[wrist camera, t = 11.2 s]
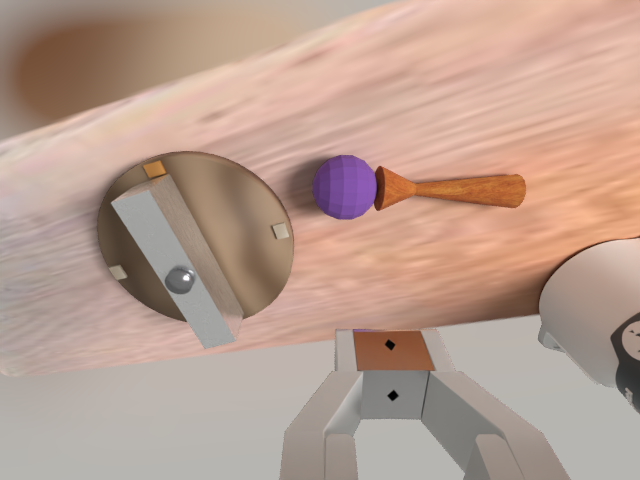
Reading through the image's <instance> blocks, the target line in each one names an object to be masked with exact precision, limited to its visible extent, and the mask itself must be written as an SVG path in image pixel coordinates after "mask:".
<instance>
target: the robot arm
mask: <svg viewBox="0 0 640 480" xmlns="http://www.w3.org/2000/svg"><path fill="white" fill-rule="evenodd" d="M539 313H540V316H541V321H542V325H541V328H540V332H539V335H538V340H539V342H540V343H541V344H542V345H543V346H544V347H547V348H550V349H553V350H557V351H561V352H565V353H566V354H567V355H568V356H569V357H570V358H571V360H572V361H573V362H574V363H575V364H576V365H577V366H578V367H579V368H580V369H581V370H582V371H583V372H584V373H585V374H586V375H587V376H588V377H589V378H590V379H591V380H592V381H593V382H594V383H596V384H602V385H604V386H607V387H612V388H618V390H619V391H620V392H621V393H622V394H623V395H624V397H625V398H626V399H627V400H628V402H629V403H630V405H631V406H632V407H633V408H634V409H635V410H636V411H637V412H638V413H639V414H640V238H636V239H624V240H615V241H609V242H605V243H602V244H599V245H596V246H593V247H591V248H588V249H586V250H584V251H582V252H581V253H579V254H577V255H575V256H574V257H572V258H571V259H570V260H568V261H567V262H566V263H564V264H563V265H562V266H561V267H560V268H559V269H558V270H557V271H556V272H555V273H554V274H553V275H552V276H551V278H550V279H549V280H548V282H547V283H546V285H545V287H544V289H543V291H542V294H541V297H540V301H539ZM360 419H419V420H421V421H422V423H423V424H424V425H425V426H426V427H427V429H428V430H429V431H430V432H431V433H432V435H433V436H434V437H435V438H436V439H437V440H438V442H439V443H440V444H441V445H442V446H443V447H444V449H445V450H446V451H447V452H448V453H449V455H450V456H451V457H452V458H453V459H454V461H455V462H456V463H457V464H458V465H459V466H460V467H461V469H462V470H463V471H464V472H465V476H464V479H463V480H571V479H570V478H569V476H568V474H567V473H566V471H565V469H564V468H563V466H562V464H561V463H560V461H559V459H558V458H557V456H556V454H555V453H554V451H553V449H552V448H551V446H550V444H549V443H548V441H547V439H546V438H545V436H544V434H543V433H542V432H540V431H539V430H538V429H537V428H535V427H534V426H532V425H531V424H530V423H529V422H527V421H526V420H525V419H523V418H522V417H521V416H519V415H518V414H517V413H515V412H514V411H513V410H511V409H510V408H509V407H507V406H506V405H505V404H503V403H502V402H501V401H499V400H498V399H497V398H496V397H494V396H493V395H492V394H490V393H489V392H488V391H486V390H485V389H484V388H483V387H481V386H480V385H479V384H477V383H476V382H475V381H473V380H472V379H471V378H469V377H468V376H467V375H465V374H464V373H463V372H460V371H456V370H455V368H454V366H453V363H452V361H451V359H450V357H449V354H448V352H447V350H446V348H445V345H444V343H443V341H442V339H441V336H440V334H439V332H438V331H437V330H436V329H419V330H366V329H353V330H352V329H336V330H335V371H332V372H331V373H330V374H329V376H328V377H327V378H326V379H325V381H324V382H323V383H322V385H321V386H320V387H319V388H318V390H317V391H316V392H315V393H314V395H313V396H312V397H311V399H310V400H309V401H308V403H307V404H306V405H305V406H304V408H303V409H302V410H301V412H300V413H299V414H298V416H297V417H296V418H295V419H294V421H293V422H292V423H291V424H290V426H289V427H288V428H287V430H286V431H285V435H284V443H283V452H282V461H281V469H280V478H279V480H358V472H357V462H356V450H355V439H354V438H353V434H354V433H355V431H356V429H357V427H358V425H359V423H360Z"/></svg>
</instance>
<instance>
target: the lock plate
mask: <svg viewBox="0 0 640 480" xmlns="http://www.w3.org/2000/svg"><path fill="white" fill-rule="evenodd" d="M167 174H170V176H171V177H172V179H173V181H174V183H175V185H176V187H177V189H178V191H179V192H180V194H181V196H182V198H183V200H184V202H185V204H186V205H187V207H188V209H189V211H190V213H191V215H192V217H193V219H194V220H195V222H196V224H197V226H198V228H199V230H200V232H201V233H202V235H203V237H204V239H205V241H206V243H207V245H208V246H209V248H210V250H211V252H212V254H213V256H214V258H215V260H216V261H217V263H218V265H219V267H220V269H221V271H222V273H223V274H224V276H225V278H226V280H227V282H228V284H229V286H230V288H231V289H232V291H233V293H234V295H235V297H236V299H237V301H238V302H239V304H240V306H241V308H242V310H243V312H244V315H243V318H242V320H243V319H245V318H248V317H250V316H253V315H255V314H256V313H258V312H260V311H262V310H263V309H264V308H266V307H267V306H268V305H270V304H271V303H272V302H273V301H274V300H275V299H276V298H277V297H278V295H279V294H280V293H281V291H282V290H283V288H284V286H285V284H286V283H287V281H288V278H289V275H290V272H291V268H292V262H293V254H294V237H293V230H292V226H291V222H290V219H289V217H288V215H287V212H286V210H285V208H284V206H283V205H282V203H281V201H280V200H279V198H278V197H277V196H276V194H275V193H274V192H273V191H272V189H271V188H270V187H269V186H268V185H267V184H266V183H265V182H264V181H263V180H262V179H260V178H259V177H258V176H257V175H255V174H254V173H253V172H251V171H250V170H248V169H246V168H245V167H243V166H241V165H240V164H238V163H235V162H233V161H231V160H229V159H226V158H223V157H220V156H217V155H214V154H208V153H203V152H193V151H181V152H171V153H166V154H162V155H158V156H155V157H153V158H150V159H148V160H146V161H144V162H142V163H141V164H139V165H137V166H135V167H134V168H132V169H131V170H129V171H127V172H126V173H125V174H124V175H122V176H121V177H120V178H119V179H118V180H117V181H116V182H115V183H114V184H113V185H112V186H111V187H110V189H109V191H108V192H107V194H106V195H105V197H104V199H103V202H102V204H101V207H100V211H99V216H98V227H97V231H98V239H99V244H100V248H101V252H102V254H103V257H104V259H105V261H106V263H107V265H108V267H109V270H110V271H111V273H112V274H113V276H114V277H115V279H116V280H118V282H119V283H120V284H121V285H122V286H123V287H124V288H125V289H126V290H127V291H128V292H129V293H130V294H131V295H133V296H134V297H135V298H136V299H137V300H139V301H140V302H142V303H143V304H145V305H146V306H148V307H149V308H151V309H153V310H155V311H157V312H159V313H161V314H163V315H166V316H168V317H171V318H174V319H177V320H181V321H185V322H187V320H186V319H185V317H184V316H183V314H182V313H181V311H180V309H179V308H178V306H177V305H176V303H175V302H174V300H173V299H172V297H171V296H170V294H169V292H168V291H167V289H166V288H165V286H164V285H163V283H162V282H161V280H160V279H159V277H158V275H157V274H156V272H155V271H154V269H153V268H152V266H151V265H150V263H149V261H148V260H147V258H146V257H145V255H144V254H143V252H142V251H141V249H140V248H139V246H138V244H137V243H136V241H135V240H134V238H133V237H132V235H131V234H130V232H129V231H128V229H127V227H126V226H125V224H124V223H123V221H122V220H121V218H120V217H119V215H118V213H117V212H116V210H115V209H114V207H113V206H112V204H111V202H112V201H114V200H115V199H117V198H118V197H119V196H121V195H122V194H123V193H125V192H126V191H128V190H129V189H130V188H132V187H133V186H135V185H137V184H140V183H143V182H146V181H149V180H152V179H155V178H158V177H161V176H164V175H167Z"/></svg>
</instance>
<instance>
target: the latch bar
mask: <svg viewBox="0 0 640 480" xmlns="http://www.w3.org/2000/svg"><path fill="white" fill-rule="evenodd" d="M111 204H112V206H113V207H114V209H115V210H116V212H117V213H118V215H119V217H120V218H121V220H122V221H123V223H124V224H125V226H126V227H127V229H128V231H129V232H130V234H131V235H132V237H133V238H134V240H135V241H136V243H137V244H138V246H139V248H140V249H141V251H142V252H143V254H144V255H145V257H146V258H147V260H148V261H149V263H150V265H151V266H152V268H153V269H154V271H155V272H156V274H157V275H158V277H159V279H160V280H161V282H162V283H163V285H164V286H165V288H166V289H167V291H168V292H169V294H170V296H171V297H172V299H173V300H174V302H175V303H176V305H177V306H178V308H179V309H180V311H181V313H182V314H183V316H184V317H185V319H186V320H187V322H188V323H189V325H190V326H191V328H192V330H193V331H194V333H195V334H196V336H197V337H198V339H199V340H200V342H201V344H202V345H203V347H204V348H205V349H207V348H211V347H215V346H219V345H222V344H226V343H230V342H234V341H236V340H237V336H238V333H239V329H240V325H241V322H242V318H243V315H244V312H243V310H242V308H241V306H240V304H239V302H238V301H237V299H236V297H235V295H234V293H233V291H232V289H231V288H230V286H229V284H228V282H227V280H226V278H225V276H224V274H223V273H222V271H221V269H220V267H219V265H218V263H217V261H216V260H215V258H214V256H213V254H212V252H211V250H210V248H209V246H208V245H207V243H206V241H205V239H204V237H203V235H202V233H201V232H200V230H199V228H198V226H197V224H196V222H195V220H194V219H193V217H192V215H191V213H190V211H189V209H188V207H187V205H186V204H185V202H184V200H183V198H182V196H181V194H180V192H179V191H178V189H177V187H176V185H175V183H174V181H173V179H172V177H171V176H170V174H167V175H164V176H161V177H158V178H155V179H152V180H149V181H146V182H143V183H140V184H137V185H135V186H133V187H132V188H130V189H129V190H128V191H126V192H125V193H123V194H122V195H121V196H119V197H118V198H117V199H115V200H114V201H112V202H111Z"/></svg>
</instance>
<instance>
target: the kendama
mask: <svg viewBox="0 0 640 480" xmlns="http://www.w3.org/2000/svg"><path fill="white" fill-rule="evenodd" d="M525 194H526V185H525V181H524V179H523V178H522V176H520V175H518V174H515V175H504V176H493V177H482V178H471V179H460V180H449V181H438V182H427V183H416V184H415V183H413V182H411V181H409V180H407V179H405V178H403V177H401V176H399V175H397V174H395V173H393V172H391V171H389V170H388V169H386V168H384V167H382V166H379V167H378V168H377V170H376V172H375V174H374V172H373V170H372V169H371V168H370V167H369V166H368V165H367V163H366V162H365V161H363V160H361V159H359V158H357V157H355V156H353V155H339V156H336V157H334V158H331V159H329V160H327V161H326V162H325V163H324V164H323V165H322V166H321V167H320V168H319V169H318V170H317V173H316V175H315V178H314V180H313V195H314V198H315V201H316V203H317V206H318V207H319V208H320V209H321V210H322V211H323V212H324V213H325V214H327V215H329V216H331V217H334V218H336V219H354V218H356V217H359V216H361V215H363V214H364V213H365V212H366V211H367V210H368V209H369V208H370V207H371V206H372V205H373V203H374V206H375V208H376V210H377V211H380V210H382V209H384V208H386V207H389V206H391V205H393V204H395V203H397V202H400V201H402V200H404V199H406V198H409V197H411V196H413V195H417V196H425V197H432V198H440V199H447V200H455V201H462V202H470V203H477V204H485V205H492V206H500V207H507V208H516V207H518V206H519V205H520V204H521V203H522V202H523V200H524V197H525Z"/></svg>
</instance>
